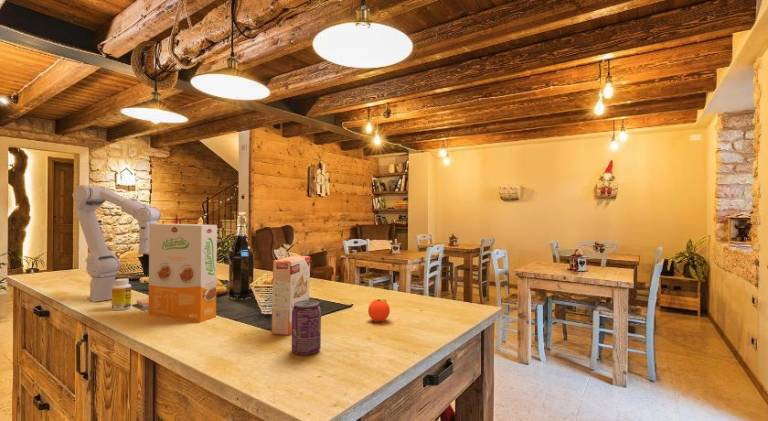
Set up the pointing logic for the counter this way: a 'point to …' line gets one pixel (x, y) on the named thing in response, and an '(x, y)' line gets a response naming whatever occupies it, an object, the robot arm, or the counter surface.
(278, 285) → the cracker box
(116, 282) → the supplement bottle
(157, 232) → the cereal box
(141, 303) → the tile
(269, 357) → the counter surface
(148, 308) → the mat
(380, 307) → the clementine
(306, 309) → the beverage can
